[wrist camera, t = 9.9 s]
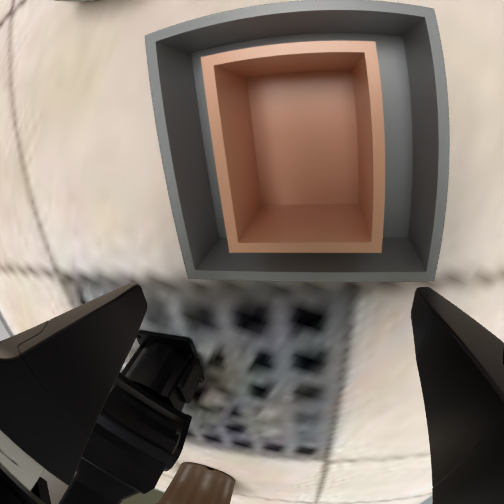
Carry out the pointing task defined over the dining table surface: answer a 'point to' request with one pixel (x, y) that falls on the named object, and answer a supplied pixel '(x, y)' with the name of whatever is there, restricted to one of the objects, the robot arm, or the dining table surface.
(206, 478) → the plant pot
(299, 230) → the small crate
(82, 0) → the ceramic mug
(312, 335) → the dining table surface
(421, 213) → the big crate
